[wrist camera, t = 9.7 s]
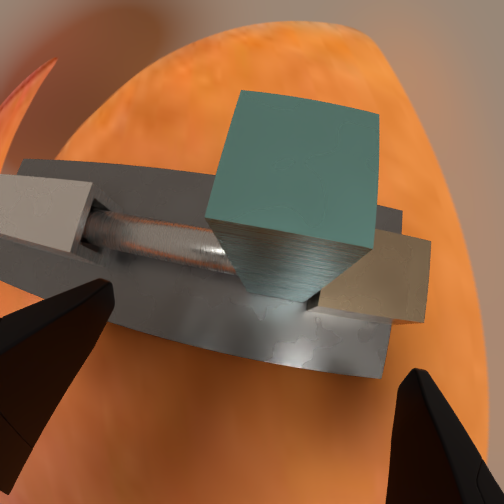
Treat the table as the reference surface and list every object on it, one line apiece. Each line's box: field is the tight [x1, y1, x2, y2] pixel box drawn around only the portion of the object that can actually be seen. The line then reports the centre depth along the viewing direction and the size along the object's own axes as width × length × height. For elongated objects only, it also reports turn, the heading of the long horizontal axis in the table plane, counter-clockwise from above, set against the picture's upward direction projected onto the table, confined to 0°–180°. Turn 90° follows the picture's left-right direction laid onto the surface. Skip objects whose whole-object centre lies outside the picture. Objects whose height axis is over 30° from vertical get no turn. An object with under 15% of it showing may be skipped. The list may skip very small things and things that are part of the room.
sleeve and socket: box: [0, 159, 431, 379], centre depth 17 cm, size 29×10×5 cm, turn 78°
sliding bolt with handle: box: [80, 90, 379, 302], centre depth 12 cm, size 18×3×12 cm, turn 78°
